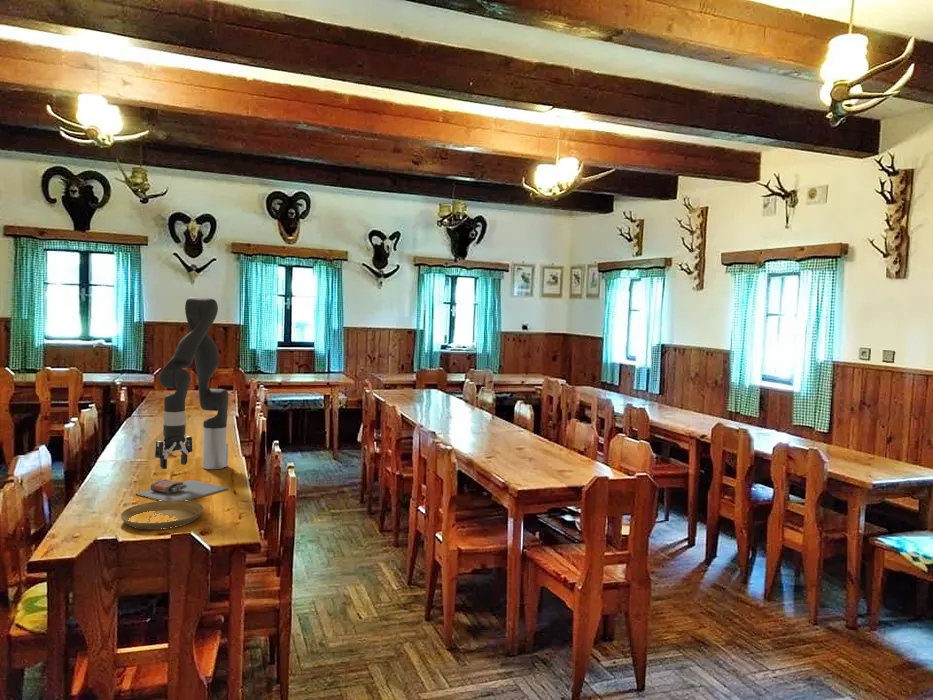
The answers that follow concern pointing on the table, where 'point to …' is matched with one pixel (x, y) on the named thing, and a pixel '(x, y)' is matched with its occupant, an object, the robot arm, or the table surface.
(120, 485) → the table surface
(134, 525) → the plant saucer
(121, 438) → the table surface
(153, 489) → the lighter
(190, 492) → the mat
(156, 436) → the table surface
